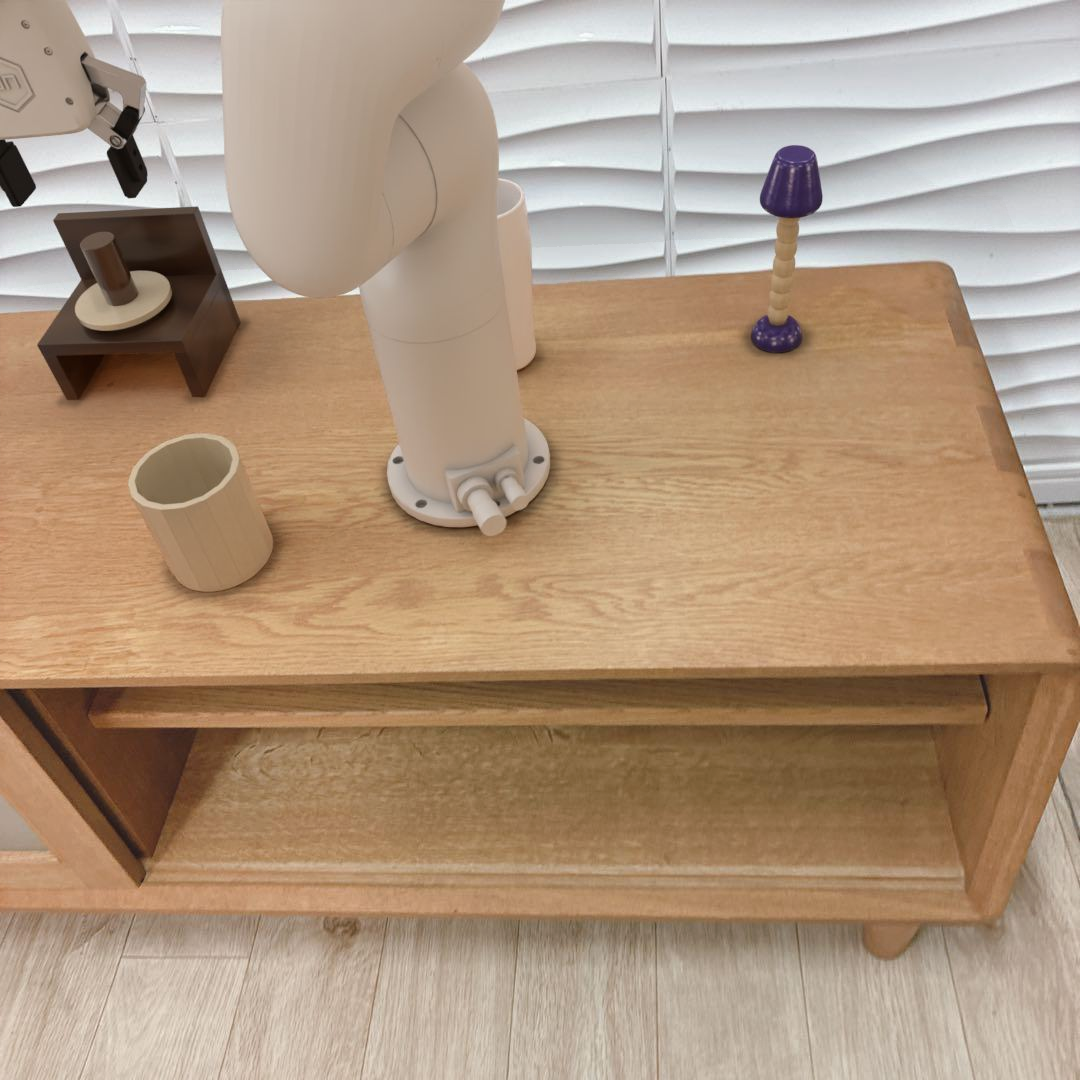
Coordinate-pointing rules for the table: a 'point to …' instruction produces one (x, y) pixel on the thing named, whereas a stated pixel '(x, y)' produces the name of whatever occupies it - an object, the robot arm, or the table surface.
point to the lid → (118, 288)
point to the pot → (202, 511)
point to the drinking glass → (516, 268)
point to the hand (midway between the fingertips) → (81, 194)
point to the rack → (181, 327)
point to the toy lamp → (786, 239)
